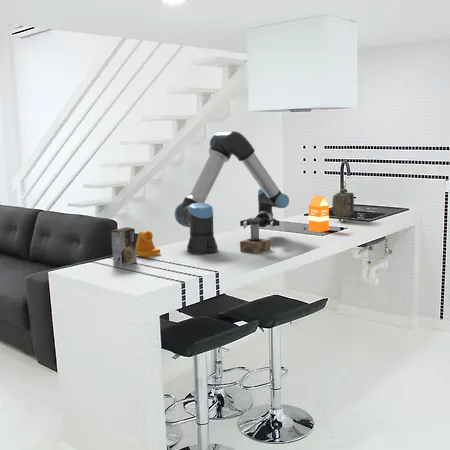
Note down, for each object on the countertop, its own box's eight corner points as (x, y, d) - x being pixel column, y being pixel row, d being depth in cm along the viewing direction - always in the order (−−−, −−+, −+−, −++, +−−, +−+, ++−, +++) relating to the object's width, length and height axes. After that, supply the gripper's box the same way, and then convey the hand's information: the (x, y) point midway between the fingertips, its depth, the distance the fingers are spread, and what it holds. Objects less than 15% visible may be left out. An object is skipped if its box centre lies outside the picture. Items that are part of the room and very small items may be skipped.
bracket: (142, 258, 278) (141, 233, 276) (134, 256, 283) (133, 231, 281) (161, 254, 285) (160, 230, 283) (152, 252, 290) (151, 228, 288)
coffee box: (127, 261, 273) (125, 227, 270) (137, 262, 269) (135, 228, 266) (112, 264, 266) (110, 230, 263) (122, 266, 262) (119, 231, 259)
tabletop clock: (345, 223, 357) (345, 182, 353) (331, 222, 362) (331, 182, 358) (353, 219, 369) (354, 180, 365) (340, 218, 374) (340, 180, 370)
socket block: (257, 253, 279) (257, 243, 279) (240, 251, 286) (240, 241, 285) (270, 249, 287) (270, 239, 286) (253, 247, 294) (253, 237, 293)
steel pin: (249, 251, 285) (248, 219, 282) (250, 249, 290) (250, 217, 287) (259, 251, 284) (259, 219, 281) (261, 249, 289) (260, 217, 286)
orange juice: (319, 232, 331) (319, 197, 327) (308, 230, 338) (308, 195, 334) (329, 230, 335) (329, 195, 332) (318, 228, 342) (317, 194, 339)
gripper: (286, 226, 310) (282, 233, 289) (240, 226, 315) (233, 233, 294) (286, 212, 308) (282, 218, 288) (239, 212, 313) (232, 218, 293)
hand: (257, 225), depth 291 cm, fingers open, 13 cm apart
